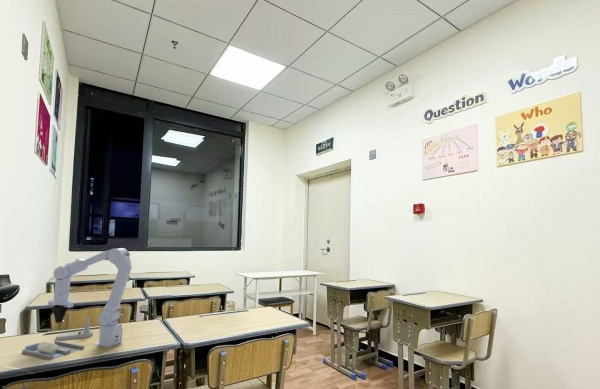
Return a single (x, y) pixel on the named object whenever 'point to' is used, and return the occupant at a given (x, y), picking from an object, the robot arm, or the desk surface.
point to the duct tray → (62, 350)
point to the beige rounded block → (47, 347)
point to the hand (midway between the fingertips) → (58, 322)
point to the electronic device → (77, 333)
